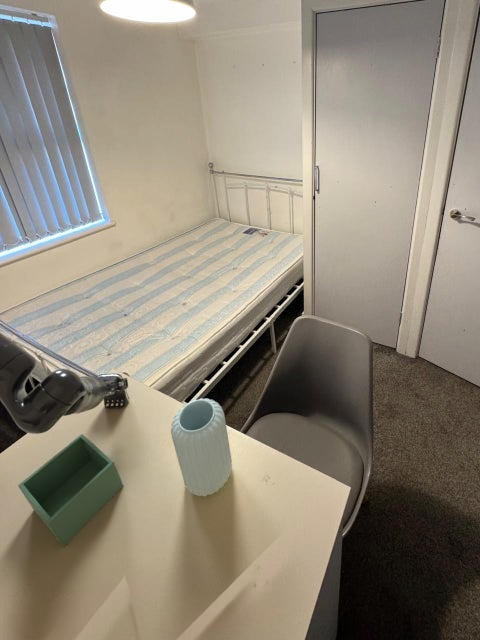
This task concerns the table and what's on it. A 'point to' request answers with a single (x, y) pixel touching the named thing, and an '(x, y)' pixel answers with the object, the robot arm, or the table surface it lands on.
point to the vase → (202, 446)
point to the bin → (72, 488)
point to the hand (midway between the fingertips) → (102, 390)
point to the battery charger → (118, 397)
